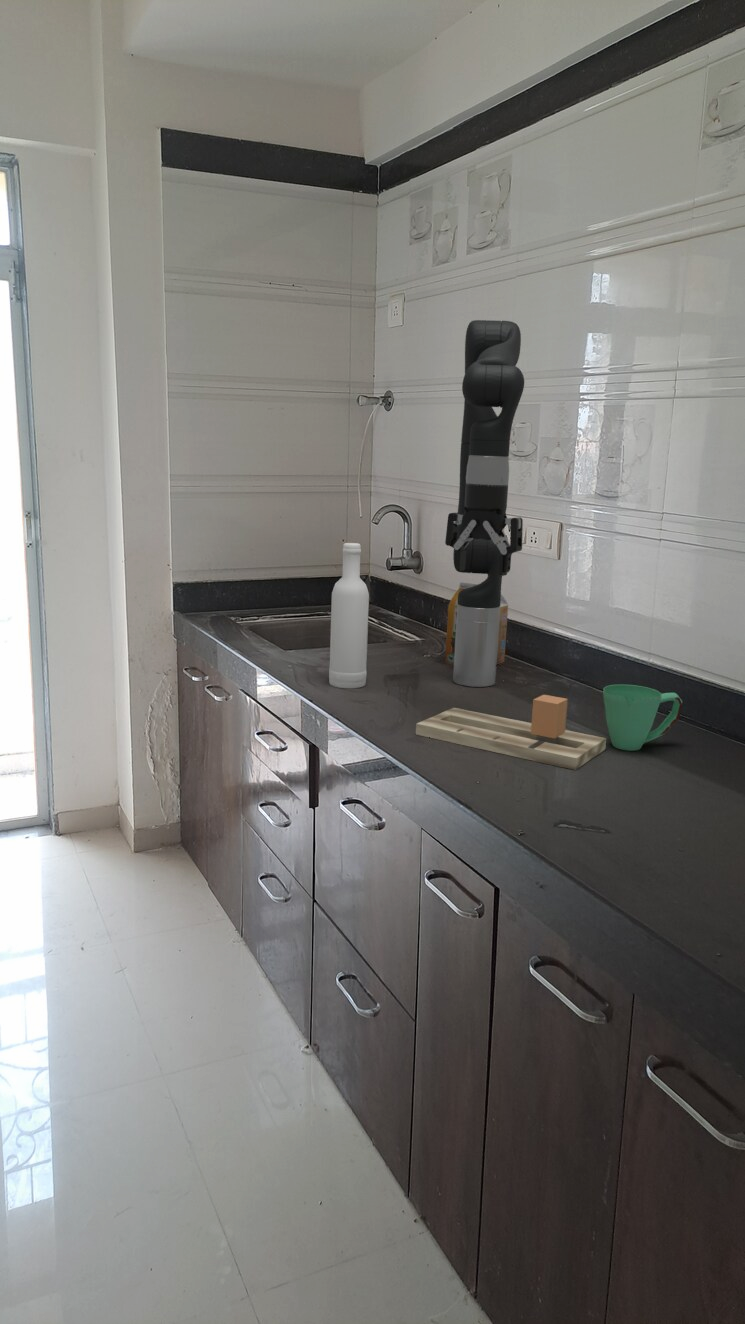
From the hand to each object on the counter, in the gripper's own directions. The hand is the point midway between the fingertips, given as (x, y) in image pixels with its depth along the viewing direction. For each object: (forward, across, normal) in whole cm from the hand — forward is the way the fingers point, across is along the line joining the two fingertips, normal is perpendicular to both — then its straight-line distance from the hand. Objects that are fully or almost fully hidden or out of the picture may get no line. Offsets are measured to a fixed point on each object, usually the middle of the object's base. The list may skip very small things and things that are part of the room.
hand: (481, 572), depth 173 cm
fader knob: (+28, -18, +7) cm, 34 cm away
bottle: (+28, +34, -8) cm, 45 cm away
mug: (+28, -30, -6) cm, 42 cm away
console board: (+28, -11, +7) cm, 31 cm away
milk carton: (+28, +23, -46) cm, 59 cm away
